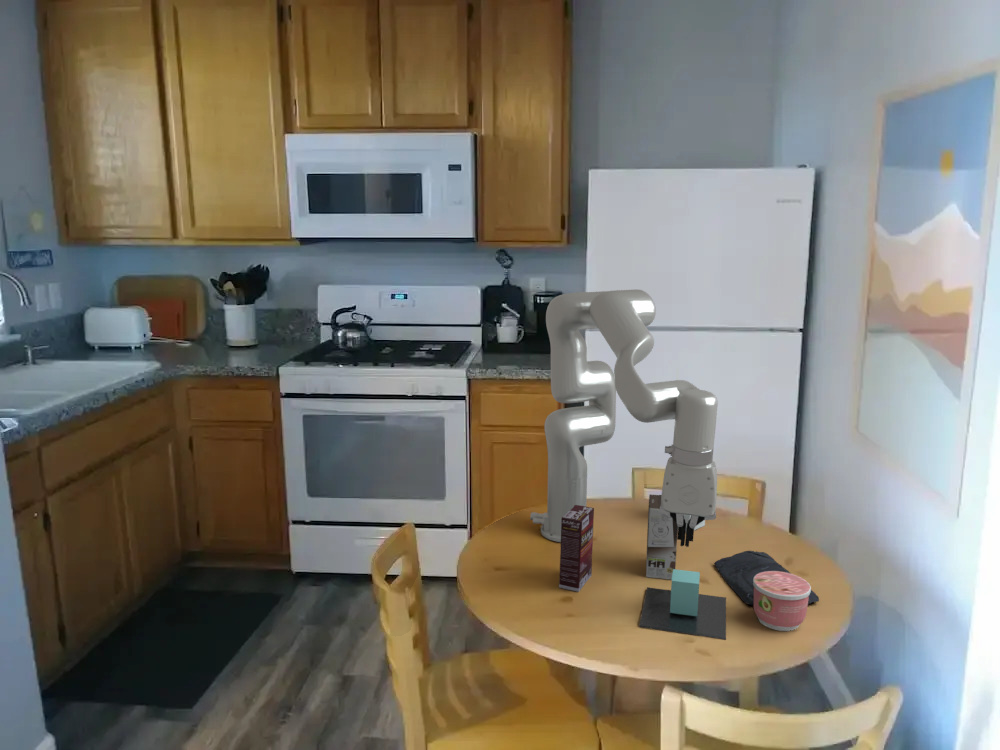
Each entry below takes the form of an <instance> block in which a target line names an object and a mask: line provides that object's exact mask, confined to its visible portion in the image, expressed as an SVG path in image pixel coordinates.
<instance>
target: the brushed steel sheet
mask: <svg viewBox="0 0 1000 750" xmlns="http://www.w3.org/2000/svg"><path fill="white" fill-rule="evenodd" d="M670 603H671V589H663V588H655V587H648V586H647V587H646V591H645V596H644V600H643V604H642V606H643V607H642V610H641V615H640V619H639V624H638V628H643V629H644V628H645V629H650V630H657V631H658V630H659V631H665V632H670V633H671V632H672V633H678V634H684V635H690V636H691V635H693V636H699V637H705V638H713V639H719V640H721V639H722V640H727V597H725V596H718V595H717V596H716V595H710V594H701V593H699V597H698V613H697V616H691V615H683V614H676V613H670Z"/></svg>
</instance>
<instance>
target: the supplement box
mask: <svg viewBox="0 0 1000 750" xmlns="http://www.w3.org/2000/svg"><path fill="white" fill-rule="evenodd" d="M594 512H595V508H594V507H589V506H587V505H586V506H580V505H574V507H573V508H572V509H571V510H570V511H569V512H568V513H567V514H566V515H565V516H563V517H562V519H561V542H560V552H559V553H560V554H559V555H560V557H559V577H558V578H559V579H558V581H559V582H558V588H559V589H563V590H568V591H571V592H576V593H579V592H581V590H582V588H583V587H584V585H585V584H586V583H587V582H588V580H589V579H590V578H591V577H592V571H593V570H592V569H593V568H592V567H593V544H594V517H595V516H594V515H595V513H594Z"/></svg>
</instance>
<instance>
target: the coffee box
mask: <svg viewBox="0 0 1000 750" xmlns="http://www.w3.org/2000/svg"><path fill="white" fill-rule="evenodd" d="M661 496H662V494H649V496H648V513H647V530H646V531H647V534H646V555H645V556H646V557H645V558H646V559H645V561H646V563H645V565H646V566H645V568H646V571H645V577H646V578H652V579H662V580H670V581H672V574H673V569H676V564H677V550H678V549H677V548H678V540H677V537H678V525H677V523H676V522H675V521H674V520H673V518H672V517H671V516H669V515H666V514H663V513H661V512H660V511H659V509H660V506H661Z"/></svg>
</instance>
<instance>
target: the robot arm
mask: <svg viewBox="0 0 1000 750" xmlns="http://www.w3.org/2000/svg"><path fill="white" fill-rule="evenodd" d="M655 304H656V303H655V301H654V299H653V298H652V296H651V295H650V294H649V293H647V292H646V291H644V290H643V289H621V290H620V289H619V290H618V289H617V290H607V291H606V290H602V291H582V292H581V291H579V292H568V293H564V294H560V295H557V296H555V297H554V298H552V299H551V301H549V304H548V305H547V309H546V312H545V324H546V325H545V326H546V330H547V334H548V338H549V343H550V389H551V390H550V391H551V395H552V397H553V399H554V400H555V401H556V402H558V403H561V404H575V403H584V402H588V405H582V406H574V407H566V408H559V409H557V410H554V411H552V412H551V413H550V414H548V415H547V417H546V418H545V421H544V435H545V440H546V447H547V448H546V449H547V504H546V505H547V511H546V512H543V513H539V512H533V511H532V512H531V513H530V521H532V523H533V524H539V525H540V534H541V535H542V536H543V537H544V538H546V540H549V541H553V542H558V543H561V519H562V517H563V516H565V515H566V514H567V513H568V512H569V511H570V510H571V509H572V508H573V507H574V505H580V506H586V507H587V500H588V499H587V495H588V491H587V490H588V463H587V461H586V458H585V457H584V456H583V454H582V453H581V451H580V448H581V447H586V446H592V445H596V444H602V443H606V442H608V441H610V440H611V439H612V438H613V436H614V434H615V431H616V430H615V429H616V416H617V415H616V414H617V412H616V411H617V410H616V409H617V407H616V406H617V405H616V404H617V403H616V402H617V394H618V397H619V398H620V400H621V402H622V403H623V405H624V407H625V408H626V410H627V411H628V412H629V414H630V415H631V416H632V417H633V418H634V419H635V420H637V421H638V422H641V423H643V424H644V423H647V424H648V423H655V422H656V423H657V422H663V421H670V420H674V427H673V428H674V429H673V440H672V444H671V445H667V446H666V445H665V446H664V454H668V455H670V457H669V458H668V459H667V462H666V465H665V469H664V474H663V480H662V488H661V495H662V496H661V506H660V509H659V511H660V512H661V513H663V514H666V515H669V516H671V517H672V518H673V520H674V521H675V522H676V523H677V525H678V534H677V541H680V544H679V545H680V547H684V546H685V547H686V548H689V546H690V542H692V543H693V542H694V532H695V530H694V528H695V527H696V526H697V525H698V524H699V523H701V522H702V521H704V520H705V521H713V520H716V519H717V513H716V512H717V511H716V506H717V490H718V473H717V465H716V462H715V461H713V459H714V458H713V457H714V447H715V436H716V425H717V415H718V405H719V404H718V402H719V401H718V398H717V396H716V395H715V393H713V392H711V391H707V390H703V389H700V388H698V387H697V386H696V385H694V384H693V383H691V382H690V381H688V380H684V379H683V380H682V379H677V380H667V381H666V380H665V381H659V382H650V383H645V382H644V381H643V379H642V378H641V376H640V375H639V373H638V372H637V370H636V368H635V366H636V365H638V364H640V362H642V361H643V360H644V359H646V358H647V356H648V355H649V354H650V353H651V352H652V350H653V349H654V346H655V339H654V337H653V335H652V333H651V332H650V330H649V329H648V328H647V327H648V326H650V325H651V324H652V323H653V322H654V321H655V318H656V314H657V313H656V311H657V310H656V305H655ZM594 329H595V330H597V329H598V331H599V332H600V334H601V335H602V336H603V338H604V340H605V341H606V343H607V345H608V346H609V347H610V349H611V351H612V352H613V354H614V356H615V357H616V361H615V364H614V369H612V367H611V366H610V365H609V364H608V363H607V362H604V361H602V360H589V361H588V358H587V357H588V356H587V355H588V354H587V353H588V351H587V350H588V349H587V343H586V340H585V338H584V336H583V335H582V333H581V332H580V330H594ZM684 514H686V515H691V518H690V520H689V521H688V523H687V528H686V523H685V519H684Z"/></svg>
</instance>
